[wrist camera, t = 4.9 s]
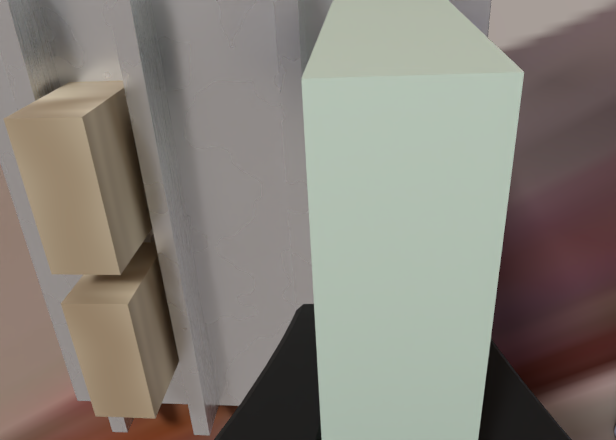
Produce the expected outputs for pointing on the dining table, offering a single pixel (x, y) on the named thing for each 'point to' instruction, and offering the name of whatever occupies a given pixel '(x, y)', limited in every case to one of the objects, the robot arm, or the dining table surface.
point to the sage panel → (406, 214)
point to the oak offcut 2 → (124, 337)
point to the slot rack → (191, 164)
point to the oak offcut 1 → (82, 177)
